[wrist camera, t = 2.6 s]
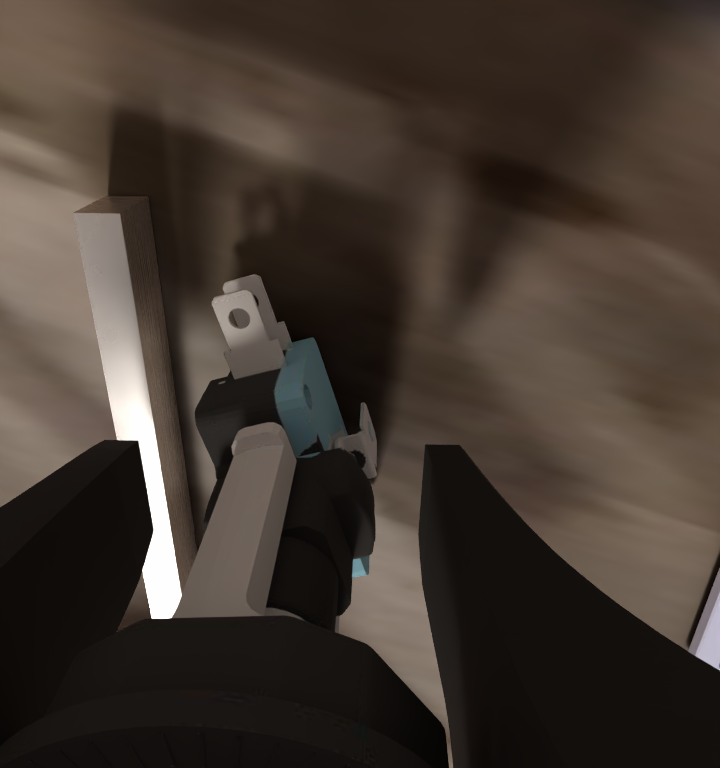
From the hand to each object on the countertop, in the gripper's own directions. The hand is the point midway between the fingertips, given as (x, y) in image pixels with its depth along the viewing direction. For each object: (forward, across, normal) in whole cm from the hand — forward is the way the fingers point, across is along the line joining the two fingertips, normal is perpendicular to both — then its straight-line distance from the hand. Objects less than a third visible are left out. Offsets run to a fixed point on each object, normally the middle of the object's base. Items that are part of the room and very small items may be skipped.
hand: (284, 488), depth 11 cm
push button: (+3, 0, 0) cm, 3 cm away
